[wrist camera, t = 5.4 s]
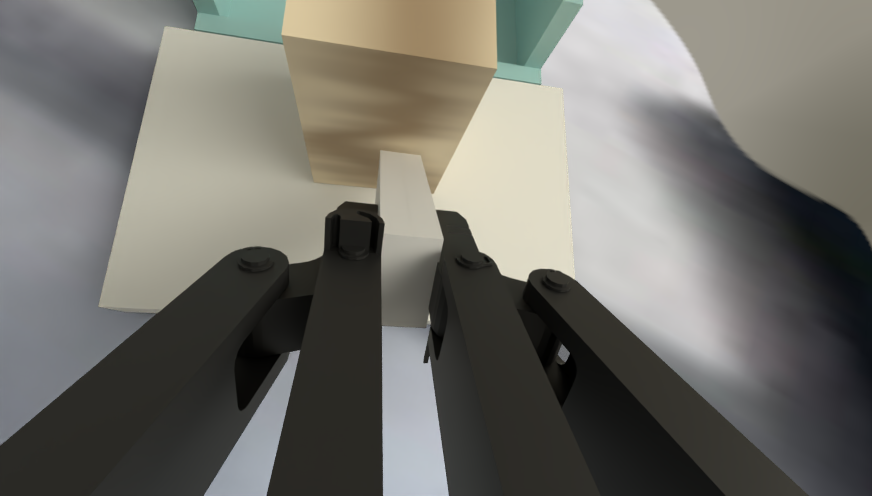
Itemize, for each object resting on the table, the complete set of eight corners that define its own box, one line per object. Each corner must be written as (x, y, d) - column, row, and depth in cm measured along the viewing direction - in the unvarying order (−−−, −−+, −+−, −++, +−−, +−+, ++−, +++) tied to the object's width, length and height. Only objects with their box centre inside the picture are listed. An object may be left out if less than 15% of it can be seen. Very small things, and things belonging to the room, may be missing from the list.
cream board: (125, 311, 18) (98, 306, 16) (181, 55, 21) (164, 25, 19) (557, 329, 21) (578, 327, 19) (546, 109, 25) (562, 88, 23)
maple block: (313, 182, 18) (280, 34, 10) (324, 77, 20) (304, -131, 11) (433, 194, 19) (497, 68, 11) (435, 93, 21) (494, -88, 12)
